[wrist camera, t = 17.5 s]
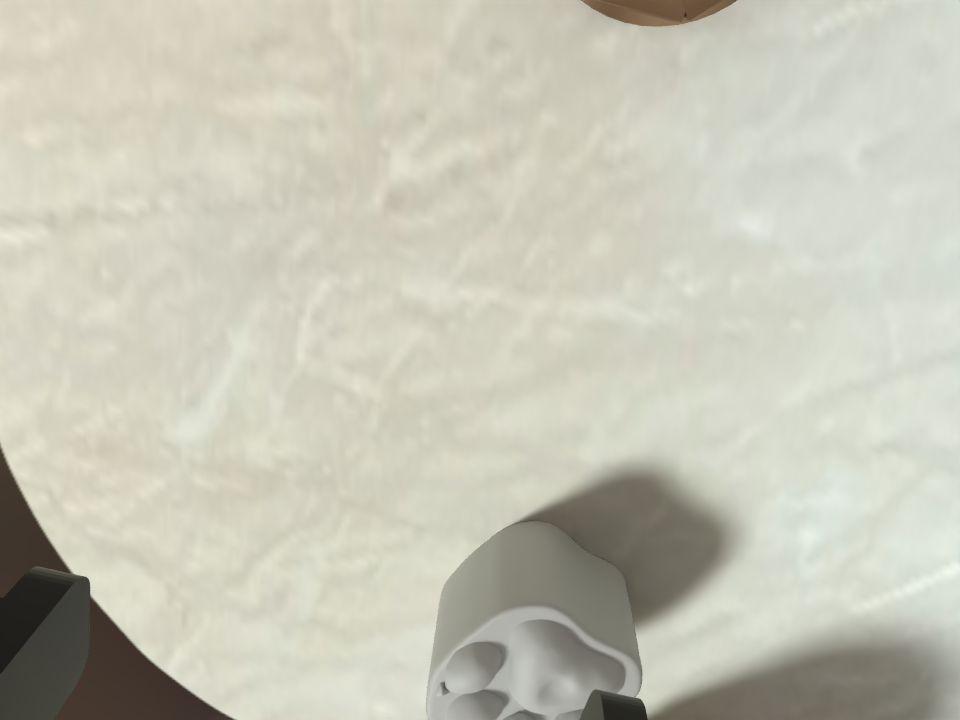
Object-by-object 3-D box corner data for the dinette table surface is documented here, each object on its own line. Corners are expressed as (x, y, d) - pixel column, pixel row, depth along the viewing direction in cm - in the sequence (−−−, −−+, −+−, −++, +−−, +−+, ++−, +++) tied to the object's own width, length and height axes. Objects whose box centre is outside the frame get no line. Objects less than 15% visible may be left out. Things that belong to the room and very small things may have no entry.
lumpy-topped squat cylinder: (648, 588, 46) (674, 703, 38) (519, 697, 51) (519, 819, 43) (522, 502, 44) (523, 605, 36) (399, 624, 48) (376, 739, 41)
